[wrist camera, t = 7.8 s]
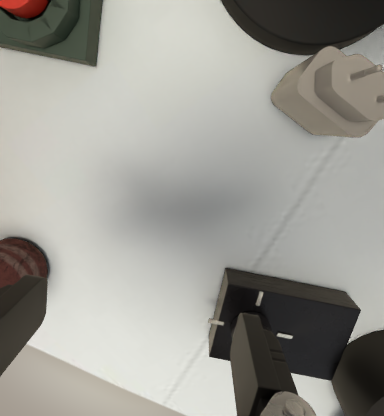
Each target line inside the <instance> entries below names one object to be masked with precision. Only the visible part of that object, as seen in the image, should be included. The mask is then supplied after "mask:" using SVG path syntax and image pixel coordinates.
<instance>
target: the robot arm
mask: <svg viewBox="0 0 384 416" xmlns="http://www.w3.org/2000/svg"><path fill="white" fill-rule="evenodd" d="M46 303H47V279H46V278H45V277H39V276H34V275H28V274H27V275H24V276H23V277H22V278H21V279H20V280H19V281H17V282H16V283H15V284H14V285H10V284H8V285H6V286H4V287H2V288H0V376H1V375H2V373H3V372H4V371H5V370H6V368H7V367H8V366H9V365H10V363H11V362H12V361H13V360H14V358H15V357H16V356H17V355H18V353H19V352H20V351H21V350H22V348H23V347H24V346H25V345H26V343H27V342H28V341H29V339H30V338H31V337H32V336H33V334H34V333H35V332H36V331H37V329H38V328H39V327H40V326H41V324H42V322H43V320H44V317H45V314H46ZM230 361H231V369H232V377H233V385H234V393H235V401H236V409H237V416H316V414H315V412H314V410H313V409H312V407H311V406H310V405H309V404H308V403H307V402H306V401H305V400H304V399H302V398H301V397H299V396H298V393H297V390H296V387H295V384H294V382H293V379H292V376H291V373H290V370H289V368H288V365H287V363H286V359H285V356H284V354H283V351H282V348H281V345H280V343H279V340H278V339H277V338H276V337H275V336H274V334H273V333H272V332H271V331H269V330H263V327H262V323H261V320H260V317H259V316H258V315H252V314H246V313H240V314H239V317H238V321H237V325H236V328H235V332H234V336H233V340H232V344H231V351H230Z"/></svg>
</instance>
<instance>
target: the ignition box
mask: <svg viewBox="0 0 384 416" xmlns="http://www.w3.org/2000/svg"><path fill="white" fill-rule="evenodd" d="M101 8H102V0H49V1H48V4H47V6H46V8H45V9H44V10H43V11H42V12H41V13H40V14H39V15H37V16H35V17H32V18H21V17H18V16H16V15H14V14H12V13H11V12H9V11H7V10H6V9H4V8H2V7H1V6H0V47H3V48H8V49H13V50H18V51H23V52H27V53H32V54H37V55H42V56H47V57H52V58H57V59H61V60H66V61H71V62H76V63H81V64H86V65H90V66H96V60H97V49H98V39H99V29H100V19H101Z"/></svg>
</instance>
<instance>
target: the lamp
mask: <svg viewBox="0 0 384 416" xmlns="http://www.w3.org/2000/svg"><path fill="white" fill-rule="evenodd" d="M222 2H223V4H224V6H225V7H226V9H227V10H228V12H229V14H230V15H231V16H232V17H233V19H234V20H235V21H236V23H237V24H238V25H239V26H240V27H241V28H242V29H243V30H244V31H245V32H247V33H248V34H249V35H250V36H252V37H253V38H254V39H256V40H258V41H259V42H261V43H262V44H264V45H267V46H269V47H271V48H273V49H276V50H279V51H282V52H287V53H291V54H301V55H312V54H316V53H317V52H319V51H320V50H322V49H323V48H326V47H328V46H332V47H335V48H337V49H341V48H344V47H346V46H349V45H351V44H353V43H355V42H357V41H359V40H360V39H362V38H364V37H365V36H367V35H369V34H370V33H371V32H373V31H374V30H375V29H377V28H378V27H380V26H381V25H383V24H384V0H222Z"/></svg>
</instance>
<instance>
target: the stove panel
mask: <svg viewBox="0 0 384 416" xmlns="http://www.w3.org/2000/svg"><path fill="white" fill-rule="evenodd" d="M360 311H361V310H360V308H359V307H358V306H357V305H356V304H355V303H354V301H353V300H352V299H351V298H350V297H349V295H348V294H347V293H346V292H343V291H338V290H333V289H328V288H323V287H318V286H313V285H308V284H303V283H298V282H293V281H288V280H283V279H278V278H273V277H268V276H263V275H258V274H253V273H248V272H243V271H238V270H233V269H228V268H226V270H225V273H224V277H223V281H222V285H221V289H220V293H219V297H218V301H217V305H216V309H215V313H214V317H213V319H210V318H209V320H208V323H212V325H211V329H210V333H209V357H213V358H218V359H223V360H228V361H230V351H231V344H232V336H231V324H232V322H233V320H234V319H235V318H236V317H237V316H238V315H239V314H240V313H245V312H257V313H260V314H262V315H263V316H265V317H266V318H267V319H268V321H269V323H270V326H271V329H272V332H273V334H274V336H275V337H276V338H277V339H278V340H279V343H280V345H281V348H282V351H283V354H284V356H285V359H286V363H287V365H288V368H289V370H290V373H295V374H300V375H305V376H310V377H315V378H320V379H325V380H330V381H332V379H333V377H334V375H335V372H336V370H337V367H338V365H339V362H340V360H341V357H342V355H343V353H344V350H345V348H346V345H347V343H348V340H349V338H350V336H351V333H352V331H353V328H354V326H355V323H356V321H357V319H358V316H359V314H360Z"/></svg>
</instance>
